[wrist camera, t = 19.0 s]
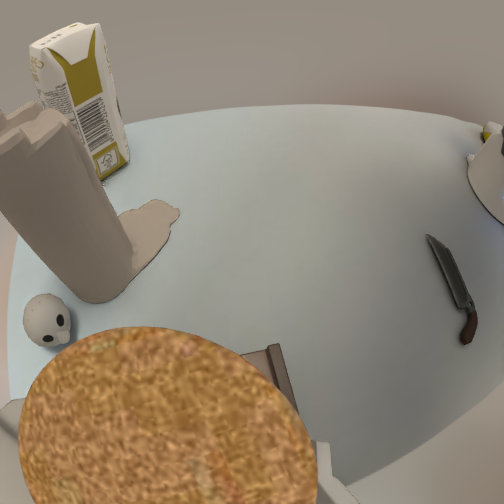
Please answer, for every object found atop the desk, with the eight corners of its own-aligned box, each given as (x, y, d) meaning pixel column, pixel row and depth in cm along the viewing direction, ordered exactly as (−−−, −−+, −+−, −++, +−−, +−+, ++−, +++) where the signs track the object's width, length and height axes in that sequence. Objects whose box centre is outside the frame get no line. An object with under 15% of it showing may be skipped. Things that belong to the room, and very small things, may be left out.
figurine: (64, 366, 21) (35, 354, 17) (34, 335, 22) (5, 317, 18) (92, 325, 23) (67, 305, 19) (60, 297, 24) (35, 274, 20)
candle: (193, 219, 30) (174, 21, 13) (97, 318, 24) (-47, 153, 7) (148, 189, 32) (112, 19, 15) (58, 273, 26) (-52, 120, 8)
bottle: (164, 383, 17) (9, 283, 4) (256, 383, 17) (337, 286, 5) (166, 468, 14) (18, 564, 1) (261, 469, 14) (355, 600, 2)
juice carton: (89, 195, 31) (36, 53, 15) (65, 165, 34) (21, 47, 17) (138, 161, 34) (110, 20, 18) (108, 137, 37) (80, 19, 20)
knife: (481, 336, 25) (485, 334, 24) (461, 347, 24) (465, 345, 24) (439, 233, 32) (441, 230, 31) (417, 236, 31) (420, 233, 30)
